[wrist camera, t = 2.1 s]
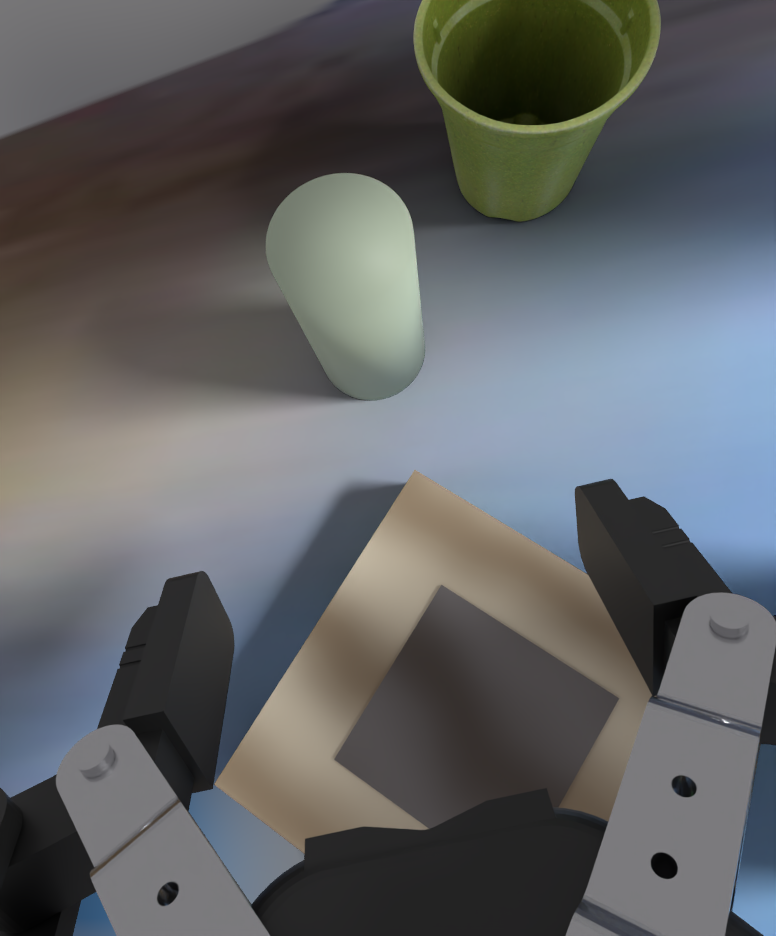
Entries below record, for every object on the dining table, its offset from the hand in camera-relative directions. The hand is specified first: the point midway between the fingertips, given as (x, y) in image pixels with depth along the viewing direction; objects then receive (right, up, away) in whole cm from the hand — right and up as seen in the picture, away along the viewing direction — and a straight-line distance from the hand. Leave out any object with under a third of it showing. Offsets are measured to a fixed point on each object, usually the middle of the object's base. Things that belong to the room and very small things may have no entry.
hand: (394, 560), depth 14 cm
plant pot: (+6, +17, +20) cm, 27 cm away
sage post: (-1, +8, +18) cm, 20 cm away
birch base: (+4, -9, +14) cm, 17 cm away
